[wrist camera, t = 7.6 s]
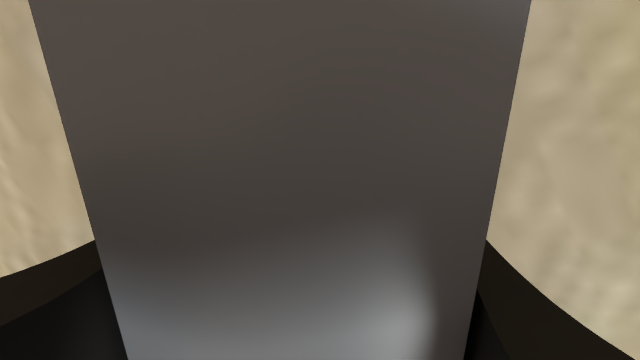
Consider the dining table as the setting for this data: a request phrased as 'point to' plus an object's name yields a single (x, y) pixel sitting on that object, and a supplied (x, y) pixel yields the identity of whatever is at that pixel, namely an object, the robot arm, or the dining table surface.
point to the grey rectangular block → (287, 167)
